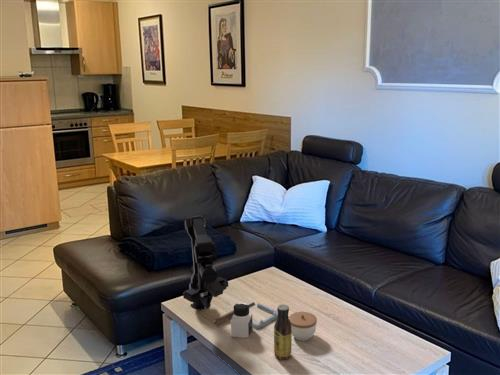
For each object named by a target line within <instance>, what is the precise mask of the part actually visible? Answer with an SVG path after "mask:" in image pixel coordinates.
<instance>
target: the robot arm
mask: <svg viewBox="0 0 500 375" xmlns="http://www.w3.org/2000/svg"><path fill="white" fill-rule="evenodd" d="M206 222H207V221H206V217H204V216H203V215H194V216H193V215H192V216H190V217H186V218H185V220H184V229H185V230H186V233H187V234H188V236H189V237H190V240H191V241H190V242H191V250H192V252H191V253H192V262H193V263H192V264H193V265H192V266H193V273H192V275H191V277H190V282H189V286H188V288H189V289H186V290H185V291H184V292H183V293H182V298H183V299H185V300H186V301H188V302H190V303H191V304H190V307H192V308H194V309H196V310H198V311H201V310H204V309H206V310H208V309H210V306H211V303H212V300H213V298H218V297H219V296H221V295H223V293H224V291H225V290H227V288H228V287H229V281H228V279H226V278H223V277H222V276H219V275H218V272H217V270H216V268H215V265H214V262H217V261H218V260H217V258H218V257H219V256H218V252H217V251H218V250H217V246H216V243H214V242H213V240H212V238H211V237H210V236H208V234H207V231H206V226H207V224H206Z"/></svg>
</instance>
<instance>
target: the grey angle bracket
mask: <svg viewBox="0 0 500 375" xmlns="http://www.w3.org/2000/svg"><path fill="white" fill-rule="evenodd" d="M256 306H257V308H259V309H261V310H263V311H265V312H268V313H269V314H272V315H270V316H269V317H267V318H264V319H259V321H260V322H258V323H257V322H255V321H252V325H253V328H254V329H256V330H257V329H260V328H262V327H264V326H265V325H267V324H268V323H271V322H273V320H277V318H278V311H277V310H275V309H274V308H271V307H269V306H267V305H264V304H263V303H260V302H258V303H257V304H256Z"/></svg>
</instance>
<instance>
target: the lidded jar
mask: <svg viewBox="0 0 500 375" xmlns="http://www.w3.org/2000/svg"><path fill="white" fill-rule="evenodd" d="M288 317H289V318H288V319H289V320H290V322H291V330H292V337H294V339H296V340H298V341H301V342H305V341H309V340H310V339H311V338H312V337H313V336H314V335H315V333H316V330H317V324H318V323H317V321H318V319H317V317H316V315H315V314H313V313H312V312H308V311H296V312H293V313H290V315H288Z"/></svg>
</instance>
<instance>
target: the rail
mask: <svg viewBox="0 0 500 375" xmlns="http://www.w3.org/2000/svg"><path fill="white" fill-rule="evenodd" d="M255 304H256V303H255V301H254V302H251V303H249V304H248V305H249V308H250V307H252V306H253V305H255ZM213 324H214V325H217V324H216V321H214V323H213Z"/></svg>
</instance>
